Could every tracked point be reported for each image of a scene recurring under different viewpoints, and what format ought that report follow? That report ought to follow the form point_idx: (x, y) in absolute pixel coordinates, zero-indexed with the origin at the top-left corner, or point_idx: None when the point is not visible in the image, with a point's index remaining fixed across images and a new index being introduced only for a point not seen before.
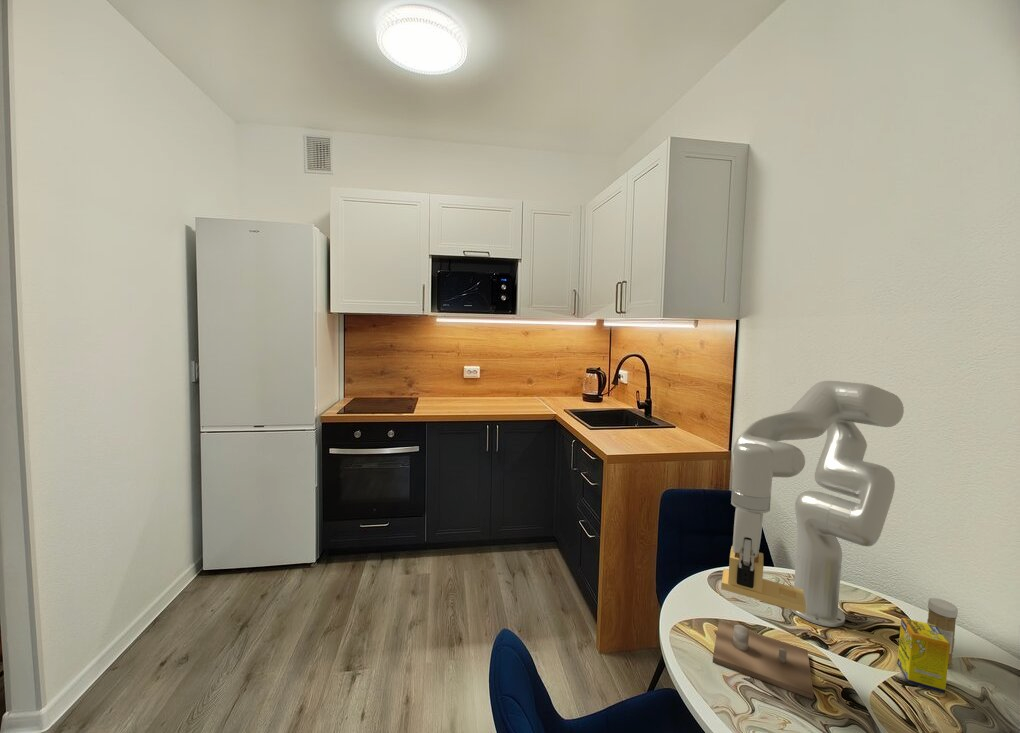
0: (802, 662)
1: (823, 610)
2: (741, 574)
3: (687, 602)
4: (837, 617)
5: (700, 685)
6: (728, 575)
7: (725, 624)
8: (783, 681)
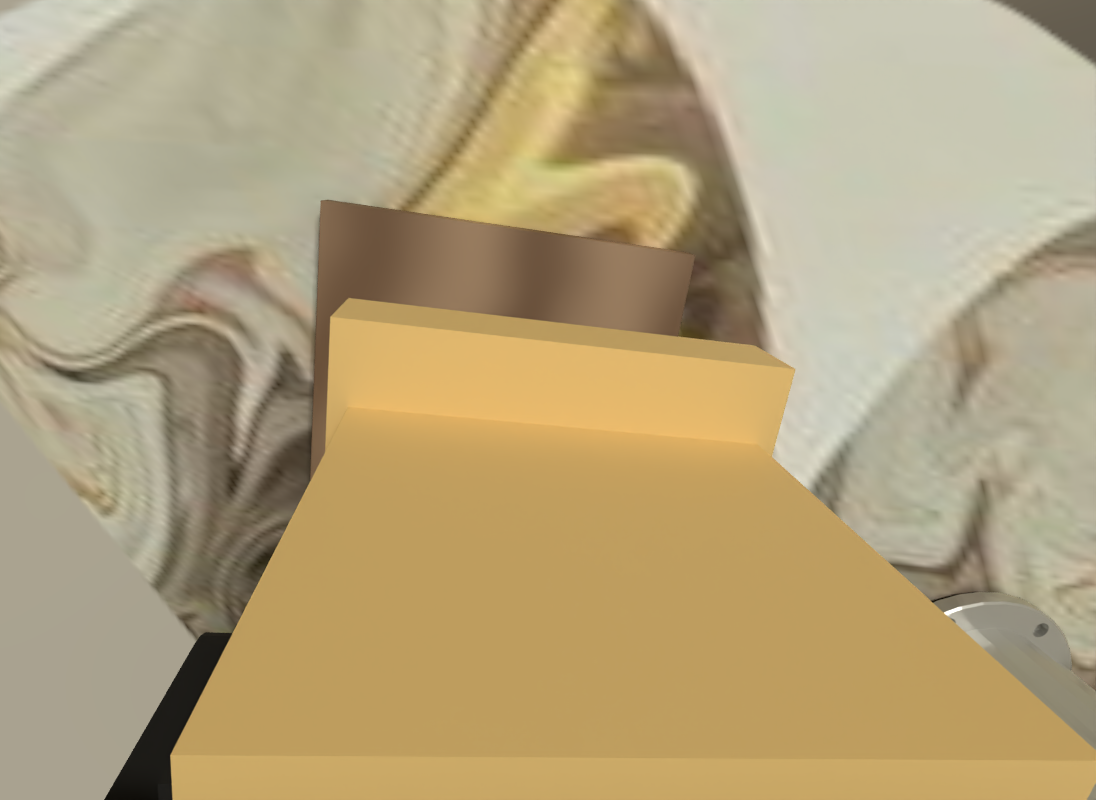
0: None
1: None
2: (140, 739)
3: (870, 60)
4: None
5: (79, 119)
6: (604, 420)
7: (671, 291)
8: None
